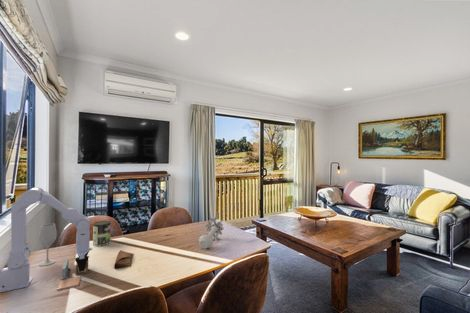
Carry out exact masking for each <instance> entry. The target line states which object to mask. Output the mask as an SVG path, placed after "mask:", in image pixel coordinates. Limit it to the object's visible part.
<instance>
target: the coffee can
mask: <svg viewBox="0 0 470 313" xmlns="http://www.w3.org/2000/svg"><path fill="white" fill-rule="evenodd" d="M111 224H112V223H111V221H110V220H101V221H96V222H93V223H92V225H93V227H92V229H93V230H92V232H93V234H92V246H93V245H94V246H93V247H102V246H101V245H103V246H106V245H105V244H107V243H109V242H110V243H111ZM110 243H109V244H110ZM107 245H108V244H107Z"/></svg>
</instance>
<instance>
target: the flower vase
mask: <svg viewBox="0 0 470 313" xmlns="http://www.w3.org/2000/svg"><path fill="white" fill-rule="evenodd" d="M217 220H218V216H214V218H210V220H207V224H205V228H206V232H208V234H202V235H200V236H199V238H198V244H199V247H200V248H201V249H204V250H205V249H209V248H211V247H212V245H213V241H214V242H218V241H219V240H220V241H221V240H222V238H219V235H222V234H223V232H222V231H223V230H224V227H223V226H224V224H223V223H222V219H220V220H219V221H218V222H217ZM212 223H213V224H212Z"/></svg>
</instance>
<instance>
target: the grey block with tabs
mask: <svg viewBox="0 0 470 313" xmlns="http://www.w3.org/2000/svg"><path fill="white" fill-rule="evenodd" d="M69 270H70V271H71V267H70V266H69V258H65V260H64V263H63V266H62V272H61V274H62V277H60V278H59V281H61V280H65V279H69V276H67V275H68V271H69Z"/></svg>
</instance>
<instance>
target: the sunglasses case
mask: <svg viewBox="0 0 470 313" xmlns="http://www.w3.org/2000/svg"><path fill="white" fill-rule="evenodd" d="M133 255H134V253H132V252H128V251H125V250H120V251H118V254H117V256H116V259H115V263H114V266H113V268H114V269H115V270H119V269H125V268H131V267H132V259H133Z"/></svg>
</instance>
